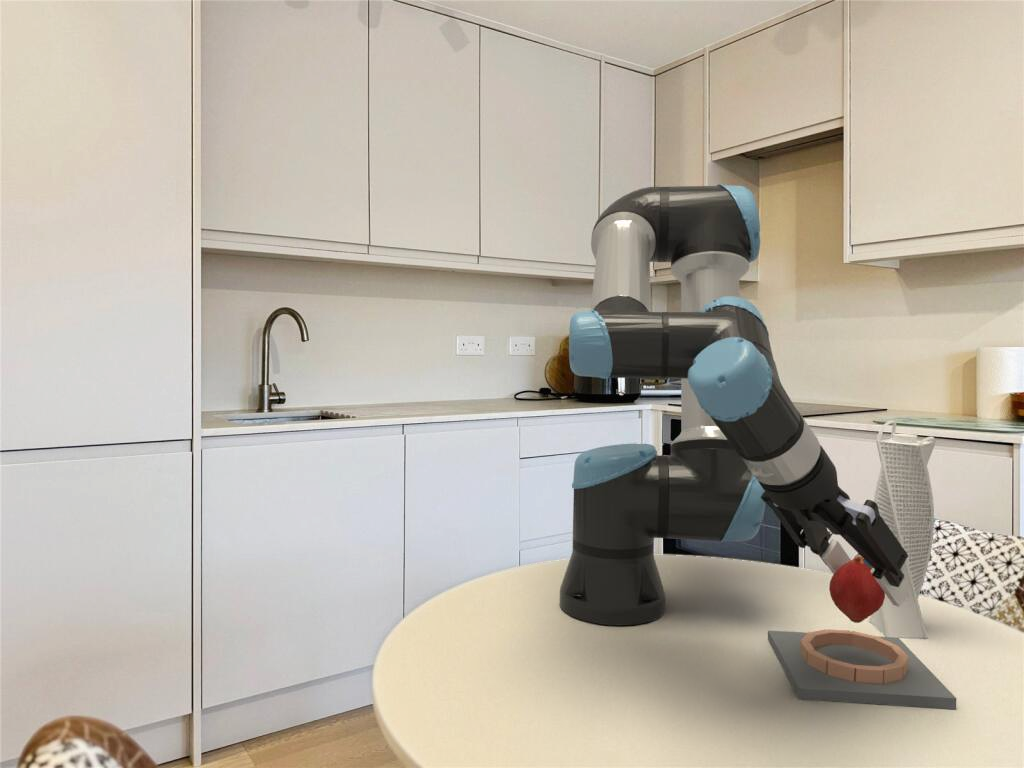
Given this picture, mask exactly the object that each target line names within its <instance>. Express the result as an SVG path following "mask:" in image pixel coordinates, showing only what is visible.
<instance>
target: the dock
mask: <svg viewBox="0 0 1024 768" xmlns="http://www.w3.org/2000/svg"><path fill="white" fill-rule="evenodd" d="M767 640H768V643H769V645H770V646H771V648H772V650H773V652H774V654H775V656H776V658H777V660H778V662H779V664H780V665H781V668H782V670H783V671H784V673H785V675H786V677H787V679H788V681H789V683H790V685H791V687H792V688H793V690H794V692H795V694H796V696H797V698H798V700H812V701H823V702H824V701H826V702H827V701H828V702H839V703H854V704H870V705H871V704H872V705H885V706H901V707H915V708H916V707H917V708H931V709H932V708H933V709H945V710H946V709H947V710H957V697H956V696H955V695H954V694H953V693H952V692H951V691H950V690H949V689H948V687H946V685H944V683H942V682H941V681H940V679H939V678H938V677H937V676H936V675H935V674H934V673H933V672H932V671H931V670H930V669H929V668H928V667H927V666H926V665H925V664H924V663H923V662H922V661H921V660H920V659H919V657H918V656H917V655H916V654H915V653H914V652H913V651H912V650H911V649H910V648H909V647H908V646H907V645H906V643H904V642H903V641H902V640H901V638H896V637H886V636H876V635H873V634H872V635H871V634H868V633H864V632H859V631H854V630H847V629H845V630H844V629H830V628H829V629H821V630H816V631H815V630H814V631H810V632H809V631H808V632H805V631H803V632H801V631H788V630H787V631H785V630H784V631H783V630H767Z"/></svg>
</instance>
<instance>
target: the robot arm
mask: <svg viewBox="0 0 1024 768" xmlns="http://www.w3.org/2000/svg"><path fill="white" fill-rule="evenodd" d="M759 214H760V213H759V208H758V204H757V201H756V199H755V196H754V193H753V192H752V191H751V190H750V189H749V188H748V187H745V186H743V185H726V184H723V183H719V184H716V185H691V186H689V185H688V186H687V185H684V186H683V185H682V186H680V185H678V186H658V185H657V186H648V187H643V188H639V189H637V190H633V191H631V192H629V193H627V194H625V195H622V196H621V197H619V198H618V199H616V200H615V201H613V202H612V203H611V204H610V205H609V206H608V207H607V208H606V209H604V211H603V212H602V213H601V214H600V215H599V217H598V219H596V222H595V224H594V226H593V229H592V231H591V241H590V247H591V252H592V254H593V257H594V259H595V265H594V266H595V267H594V275H593V283H592V284H593V286H592V295H591V303H590V309H589V310H588V311H578V312H577V313H574V314H573V315H572V316H571V317H570V322H569V333H568V334H569V335H568V338H569V339H568V355H569V356H568V358H569V367H570V371H571V372H572V373H573V374H574V375H576V376H579V377H590V378H591V377H592V378H600V379H602V380H603V379H604V380H605V379H609V378H611V379H612V378H613V379H619V378H620V379H626V378H627V379H677V380H679V379H680V381H681V382H680V383H681V385H680V386H681V387H680V388H681V391H680V393H681V395H680V397H681V400H680V401H681V405H680V406H681V407H680V409H681V410H680V411H681V412H680V413H681V414H680V415H681V423H680V424H681V425H680V426H681V430H680V431H681V432H680V434H679V435H678V436H677V437H676V438H675V439H674V440H673V441H672V442H671V443H670V455H658V451H657V449H656V446H654V445H653V444H650V443H649V444H648V443H621V444H612V445H603V446H599V447H594V448H591V449H588V450H586V451H583V452H581V453H580V454H579V455H578V456H577V457H576V459H575V462H574V466H573V467H574V468H573V481H572V483H571V488H572V489H573V502H572V503H573V504H572V505H573V508H572V509H573V513H572V551H571V552H572V553H571V555H570V558H569V561H568V564H567V566H566V569H565V572H564V576H563V578H562V582H561V584H560V589H559V607H560V608H561V609H562V611H564V613H566V614H568V615H569V616H571V617H573V618H576V619H578V620H581V621H584V622H589V623H594V624H599V625H609V626H632V625H639V624H644V623H650V622H652V621H654V620H657V619H659V618H660V617H662V616H663V615H664V613H665V611H666V592H665V588H664V586H663V582H662V579H661V576H660V572H659V570H658V569H659V568H658V566H657V563H656V558H655V555H654V554H655V553H654V552H655V551H654V548H655V539H674V540H675V539H678V540H694V541H713V542H714V541H715V542H719V543H725V542H745V541H746V542H747V541H750V540H752V539H753V538H754V537H755V536H756V535H757V534H758V532H759V531H760V528H761V526H762V522H763V519H764V513H765V511H766V510H765V509H766V505H767V506H769V508H770V509H771V510H772V511H773V513H774V514H775V516H776V517H777V519H778V520H779V521H780V522H781V524H782V526H783V527H784V528H785V531H786V532H787V533H788V534H789V536H790V537H791V539H792V541H793V542H794V543H795V544H796V546H797V547H799V548H801V549H805V548H806V547H808V548H809V549H810V551H811V552H812V553H813V554H814V555H817V556H819V558H820V559H821V561H822V562H823V563H824V565H826V566H827V567H828V569H829V570H830V571H831V573H832V574H833V575H834V573H835V572H836V571H837V570H838V569H839V568H840V567H841V566H842V565H844V564H845V563H848V562H850V561H851V560H852V559H851V558H850V556H849V555H848V553H847V552H846V551H845V549H844V548H843V546H842V545H841V544H840V542H839V541H838V540H836V539H831V538H832V535H836V536H840V537H842V539H843V540H845V542H846V543H848V544H849V545H850V547H852V548H853V549H854V550H855V551H856V552H857V553H858V555H861V556H862V557H863V560H864V561H865V562H867V563H868V564H869V566H870V567H871V568H872V569H871V571H870V572H871V574H872V576H874V578H875V579H876V581H877V582H878V584H879V585H880V587H881V588H882V589H883V591H884V592H885V594H886V595H887V597H888V598H889V600H890V601H891V602H892V604H893V605H895V606H898V607H900V605H901V604H902V602H903V600H904V598H905V596H906V594H907V593H908V591H909V589H910V587H909V586H908V584H907V583H906V581H905V580H904V574H903V573H902V571H901V568H902V566H903V564H904V563H905V561H906V559H907V557H908V554H907V553H906V551H905V550H904V548H903V547H902V546H901V544H900V543H899V541H898V540H897V538H896V537H895V536H894V534H893V533H892V531H891V530H890V529H889V527H888V526H887V524H886V523H885V521H884V520H883V519H882V517H881V516H880V514H879V510H878V505H877V504H876V503H875V502H874V500H871V499H866V500H865V502H864V503H860V502H859V503H858V502H856V501H853V500H852V499H851V498H850V495H849V494H847V492H845V491H844V490H843V489H842V488H841V487H840V486H839V484H838V483H839V482H838V481H839V480H838V474H837V473H838V471H837V468H836V466H835V464H834V462H833V461H832V460H831V458H830V456H829V454H827V452H826V450H825V448H823V446H822V445H821V444H820V441H819V439H818V438H817V436H816V434H815V433H814V431H813V430H812V429H811V427H810V426H809V424H808V423H807V422H806V420H805V418H804V417H803V415H801V413H800V412H799V410H798V409H797V407H796V406H795V405H794V403H793V401H792V400H791V398H790V396H789V395H788V393H787V391H786V390H785V388H784V386H783V384H782V382H781V380H780V376H779V372H778V368H777V365H776V362H775V360H774V355H773V351H772V347H771V342H770V335H769V331H768V327H767V325H766V324H765V321H764V319H763V316H762V314H761V313H760V311H759V309H758V308H757V307H756V306H755V305H754V304H753V303H752V302H751V301H749V300H748V299H745V298H743V297H740V280H741V279H742V278H744V276H745V275H746V274H747V273H748V272H749V269H750V264H751V263H752V262H754V261H755V260H757V258H758V256H759V254H760V247H761V234H760V232H761V223H760V221H761V220H760V215H759ZM650 263H670V273H671V274H672V276H673V277H674V278H675V279H677V280H678V281H679V283H680V295H681V296H680V307H681V308H680V312H679V311H677V312H676V311H652V298H651V297H652V294H651V291H652V290H651V267H650V266H651V264H650ZM828 530H829V531H828ZM829 541H830V542H829Z"/></svg>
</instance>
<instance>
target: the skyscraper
mask: <svg viewBox="0 0 1024 768" xmlns="http://www.w3.org/2000/svg"><path fill="white" fill-rule="evenodd" d="M890 425H891V426H892V427H891V432H890V433H891V434H890V438H885V439H883V440H881V439H882V435H883V433H884V430H885V428H886V427H887V426H890ZM896 430H897V422H896V421H895V420H893V419H890V420H888V421H885V423H884V424H882V426H881V427H880V429H879V431H878V433H877V437H876V441H875V443H876V447H877V451H878V456H879V461H880V465H881V467H880V469H879V470H880V471H879V474H878V479H877V482H876V485H875V491H874V496H873V497H874V498H873V501H874V502H875V503H876V504H877V505H878V510H879V514H880V516H881V517H882V519H883V520H884V521H885V523H886V524H887V526H888V527H889V529H890V530H891V531H892V533H893V534H894V536H895V537H896V538H897V540H898V541H899V543H900V544H901V546H902V547H903V548H904V550H905V551H906V553H907V554H908V557H907V559H906V561H905V563H904V564H903V566H902V568H901V571H902V573H903V574H904V580H905V581H906V583H907V584H908V586H909V587H910V589H909V591H908V593H907V594H906V596H905V598H904V600H903V602H902V604H901V605H900V607H898V606H895V605H893V604H892V602H891V601H890V600H889V598H888V597H887V595H886V594H885V599H884V602H883V605H882V606H881V607H880V609H879V610H878V611H876V612H875V613H874V614H872V615H871V616H869V620H868V622H869V623H870V624H872V625H873V626H874V627H875V628H877V630H879V632H881V633H882V634H883V635H884V636H885V637H896V638H899V639H907V638H908V639H925V640H927V639H928V638H929V637H928V633H927V629H926V626H925V621H924V618H923V616H922V615H923V614H922V611H921V607H920V603H919V597H920V593H921V591H922V588H923V585H924V582H925V578H926V574H927V570H928V566H929V563H930V557H931V553H932V548H933V539H934V533H935V532H934V531H935V530H934V528H935V509H934V508H935V507H934V497H933V491H932V490H933V489H932V485H931V479H930V474H929V470H928V469H929V468H928V463H929V461H930V458H931V455H932V453H933V449H934V448H935V445H936V438H935V437H934V436H927V437H924V438H923V439H922V440H918V435H917V434H913V433H911V434H910V433H896Z"/></svg>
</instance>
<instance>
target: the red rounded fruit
mask: <svg viewBox="0 0 1024 768" xmlns="http://www.w3.org/2000/svg"><path fill="white" fill-rule="evenodd" d="M872 568H873V567H872V566H870V565H868V564H867V563H866V561H865V559H864V558H863V557H862V556H861V555H860V554H856V555H855V556H854V557H853V558H852V559H851V561H850V562H848V563H845V564H844V565H842V566H841V567H840V568H839V569H838V570H837V571H836V572H835V573H834V574H833V575H832V576H831V578H830V581H829V589H828V590H829V594H830V597H831V599H832V602H833V603H834V605H835V606H836V608H837V609H839V611H840V612H841V613H842V614H843V615H844V616H846V617H847V618H848V619H849V620H850V621H851V622H853V623H854V624H855V623H856V624H858V623H859V624H860V623H862V622H863V621H865V620H866V619H868V618H870V616H871V615H872V614H874V613H875V612H876V611H878V610H879V609H880V607H881V606H882V605H883V602H884V599H885V592H884V591H883V589H882V588H881V587H880V585H879V584H878V582H877V581H876V579H875V578H874V576H872V574H871V572H870V571H871V569H872Z"/></svg>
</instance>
